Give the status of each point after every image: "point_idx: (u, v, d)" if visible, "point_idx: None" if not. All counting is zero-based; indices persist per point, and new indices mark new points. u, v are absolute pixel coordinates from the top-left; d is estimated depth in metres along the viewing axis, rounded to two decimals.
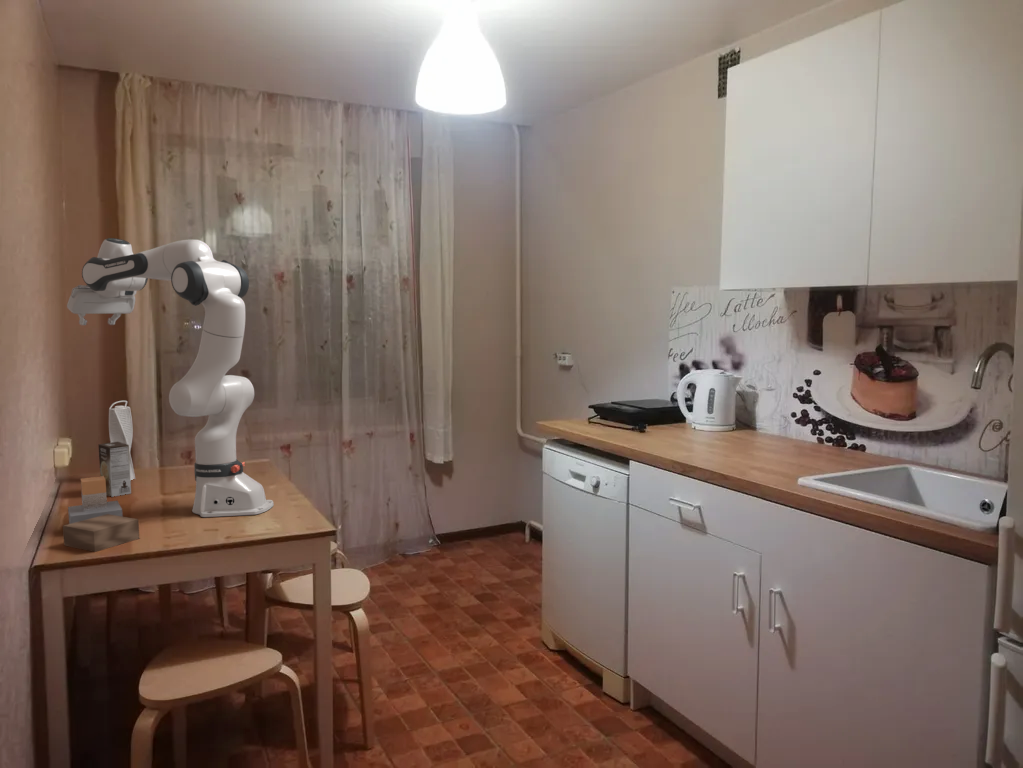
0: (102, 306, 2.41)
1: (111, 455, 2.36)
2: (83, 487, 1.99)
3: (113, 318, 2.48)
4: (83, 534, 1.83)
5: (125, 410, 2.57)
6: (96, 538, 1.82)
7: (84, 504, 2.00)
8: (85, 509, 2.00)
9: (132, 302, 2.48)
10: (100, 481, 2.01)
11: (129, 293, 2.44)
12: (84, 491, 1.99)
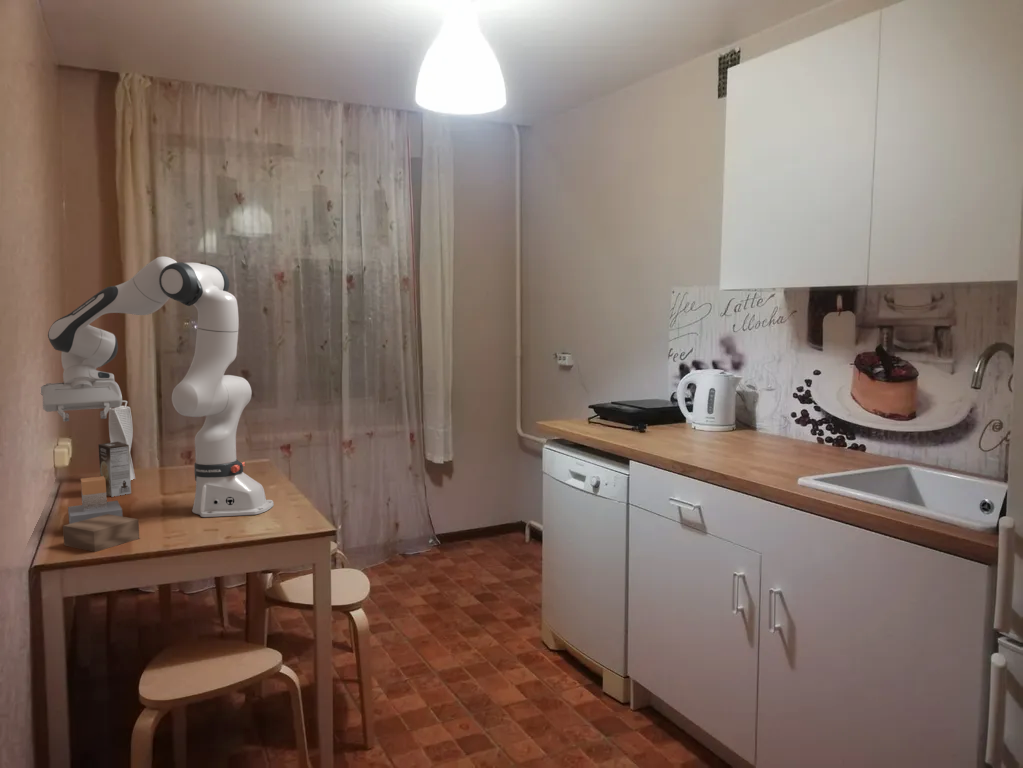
0: (79, 395, 2.18)
1: (111, 455, 2.36)
2: (83, 487, 1.99)
3: None
4: (83, 534, 1.83)
5: (125, 410, 2.57)
6: (96, 538, 1.82)
7: (84, 504, 2.00)
8: (85, 509, 2.00)
9: (115, 387, 2.24)
10: (100, 481, 2.01)
11: (104, 376, 2.24)
12: (84, 491, 1.99)
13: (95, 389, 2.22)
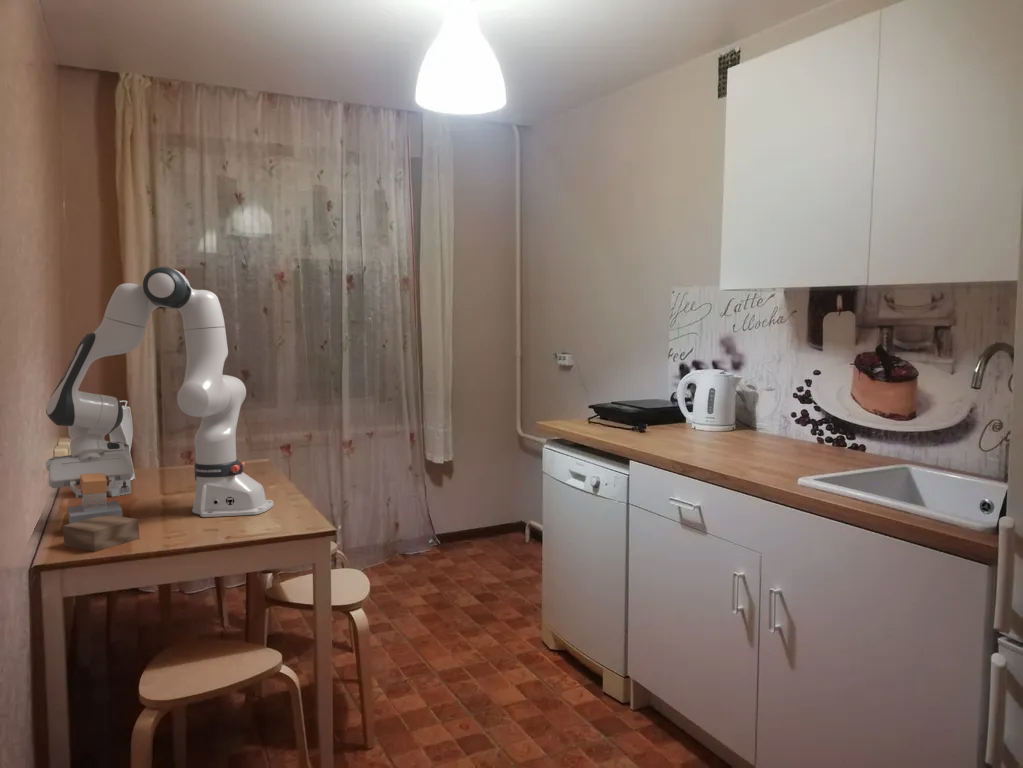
0: (88, 469, 2.05)
1: None
2: (84, 487, 1.98)
3: None
4: (83, 534, 1.83)
5: (125, 410, 2.57)
6: (96, 538, 1.82)
7: (84, 504, 2.00)
8: (85, 509, 2.00)
9: (126, 459, 2.11)
10: (102, 482, 2.01)
11: (114, 447, 2.11)
12: (85, 490, 1.99)
13: (104, 461, 2.08)
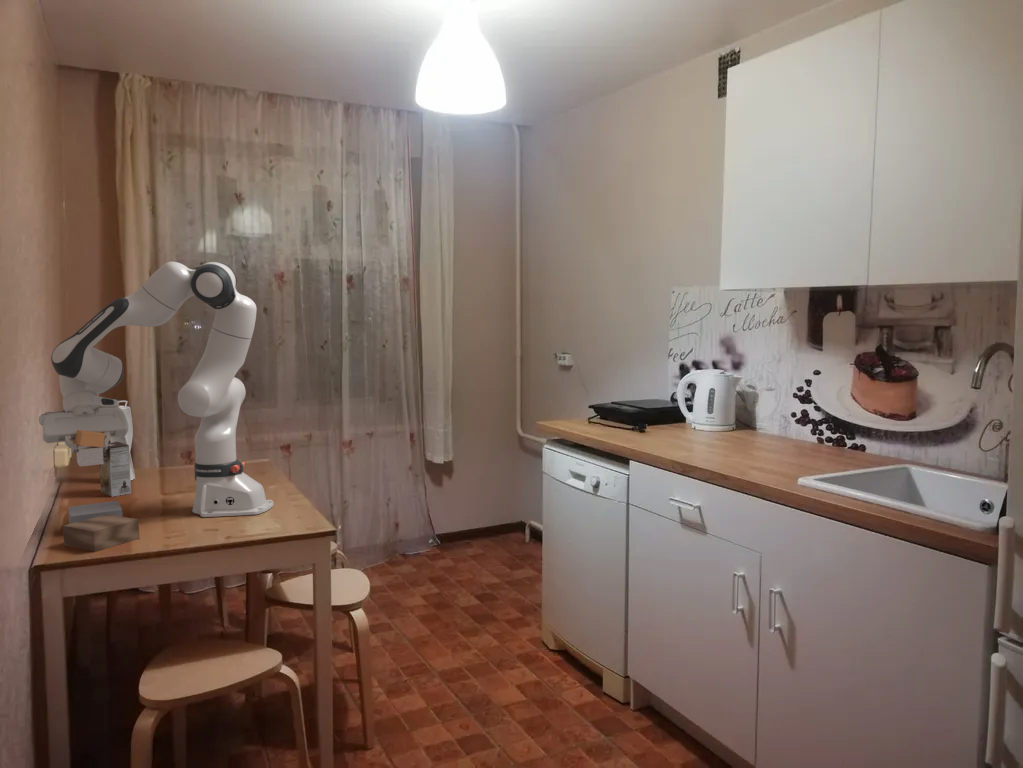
0: (82, 424, 2.02)
1: (111, 455, 2.36)
2: (82, 437, 1.96)
3: None
4: (83, 534, 1.83)
5: (125, 410, 2.57)
6: (96, 538, 1.82)
7: (80, 459, 1.97)
8: (81, 464, 1.97)
9: (121, 415, 2.08)
10: (100, 435, 1.99)
11: (108, 403, 2.08)
12: (82, 441, 1.96)
13: (99, 417, 2.06)
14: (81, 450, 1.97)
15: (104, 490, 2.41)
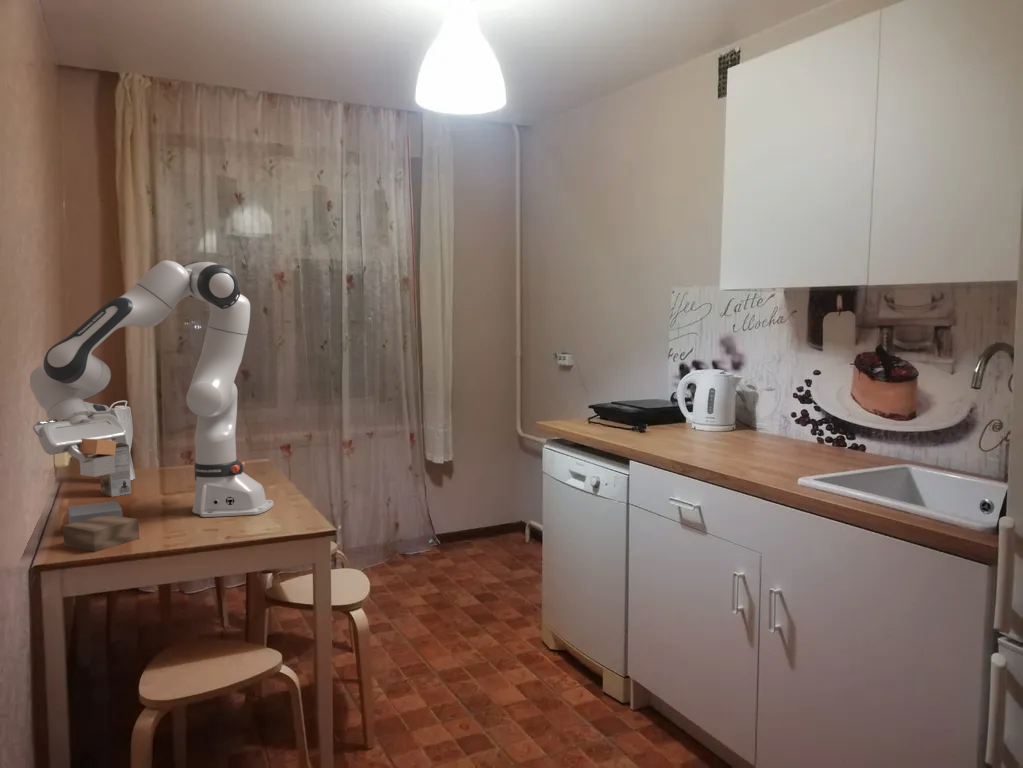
0: (84, 432, 1.88)
1: None
2: (97, 445, 1.84)
3: None
4: (83, 534, 1.83)
5: (125, 410, 2.57)
6: (96, 538, 1.82)
7: (95, 468, 1.84)
8: (96, 474, 1.85)
9: (116, 421, 1.97)
10: (112, 442, 1.88)
11: (101, 409, 1.95)
12: (98, 450, 1.84)
13: (95, 424, 1.92)
14: (95, 459, 1.85)
15: (104, 490, 2.41)
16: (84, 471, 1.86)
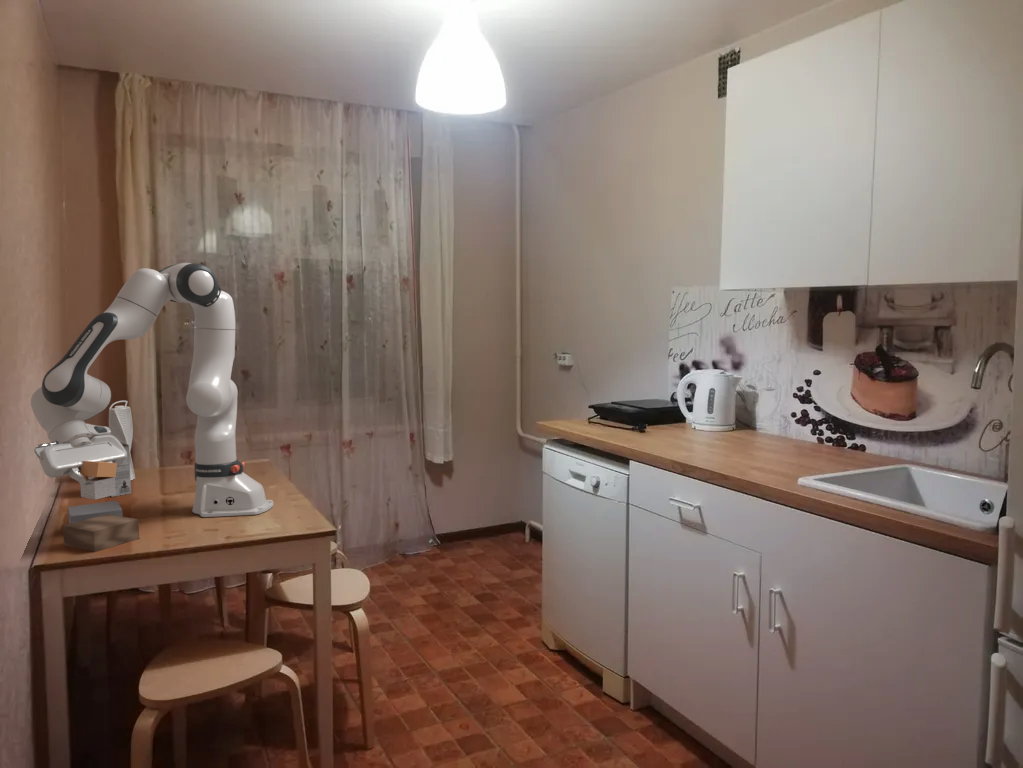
0: (85, 454, 1.88)
1: None
2: (98, 468, 1.85)
3: None
4: (83, 534, 1.83)
5: (125, 410, 2.57)
6: (96, 538, 1.82)
7: (95, 491, 1.85)
8: (96, 496, 1.85)
9: (116, 442, 1.97)
10: (113, 464, 1.89)
11: (102, 430, 1.95)
12: (98, 472, 1.85)
13: (96, 446, 1.93)
14: (96, 482, 1.85)
15: None
16: (85, 493, 1.87)
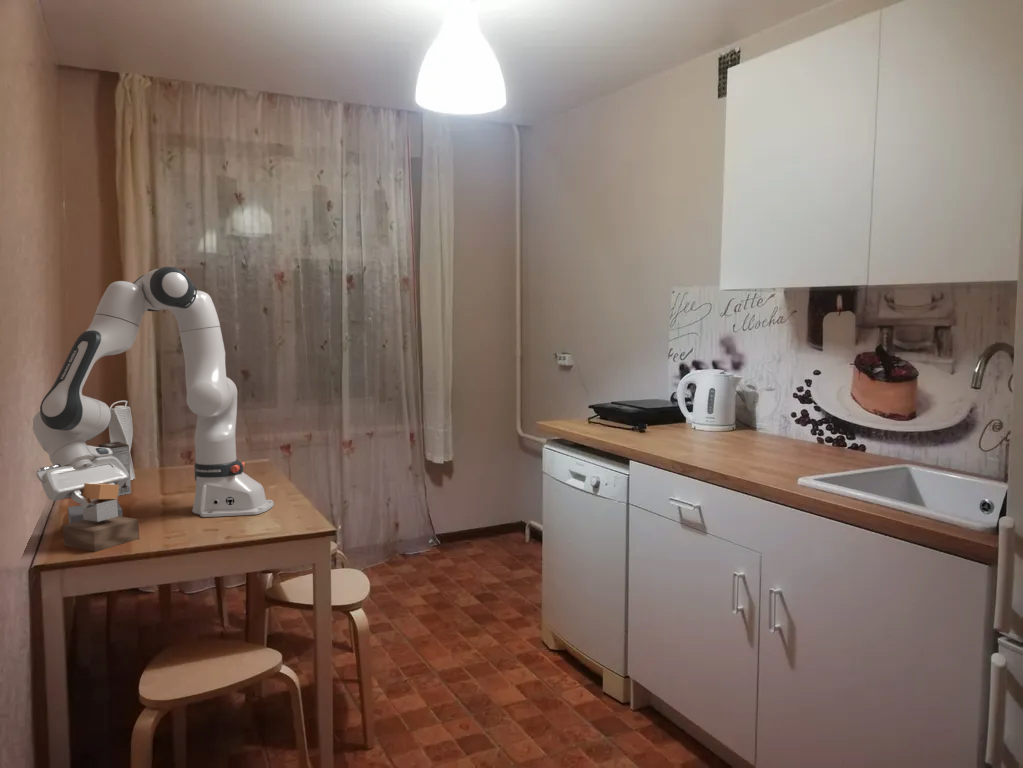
0: (86, 477, 1.89)
1: None
2: (100, 490, 1.85)
3: None
4: (83, 534, 1.83)
5: (125, 410, 2.57)
6: (96, 538, 1.82)
7: (97, 513, 1.85)
8: (98, 519, 1.86)
9: (118, 463, 1.98)
10: (114, 486, 1.89)
11: (103, 452, 1.96)
12: (100, 495, 1.85)
13: (98, 468, 1.93)
14: (98, 504, 1.85)
15: None
16: (87, 516, 1.87)
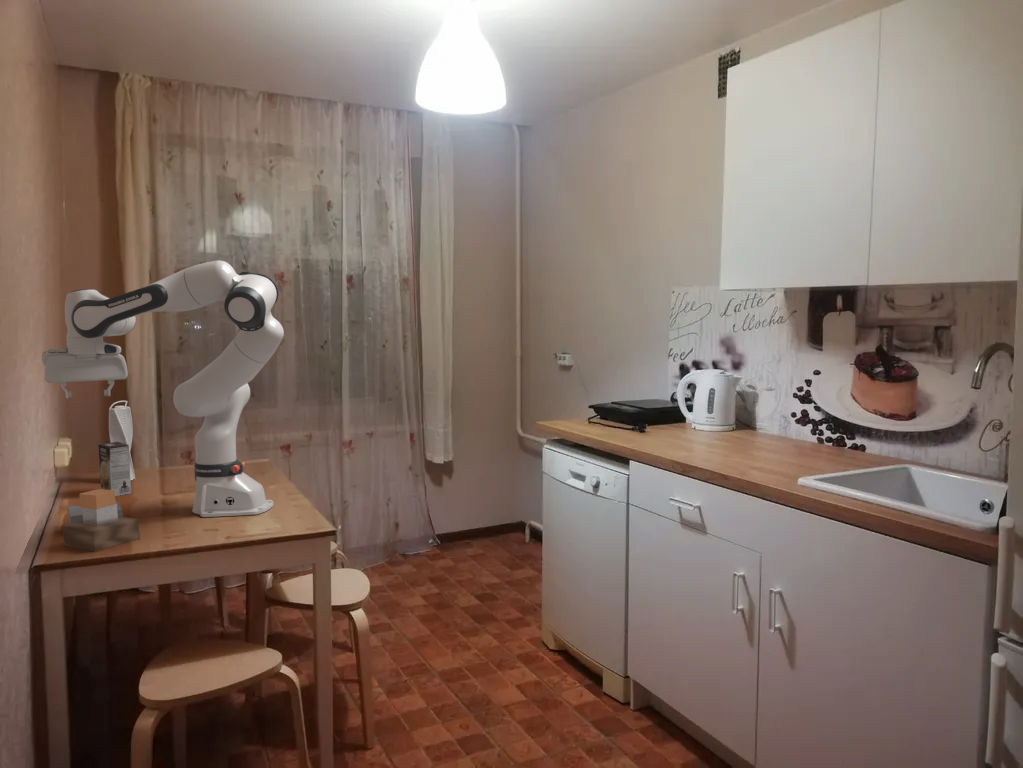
0: (84, 371, 2.08)
1: (111, 455, 2.36)
2: (97, 500, 1.84)
3: (108, 388, 2.13)
4: (83, 534, 1.83)
5: (125, 410, 2.57)
6: (96, 538, 1.82)
7: (97, 518, 1.85)
8: (98, 523, 1.86)
9: (121, 363, 2.13)
10: (110, 492, 1.88)
11: (111, 350, 2.10)
12: (98, 505, 1.85)
13: (100, 363, 2.11)
14: (98, 509, 1.86)
15: None
16: (87, 520, 1.87)
